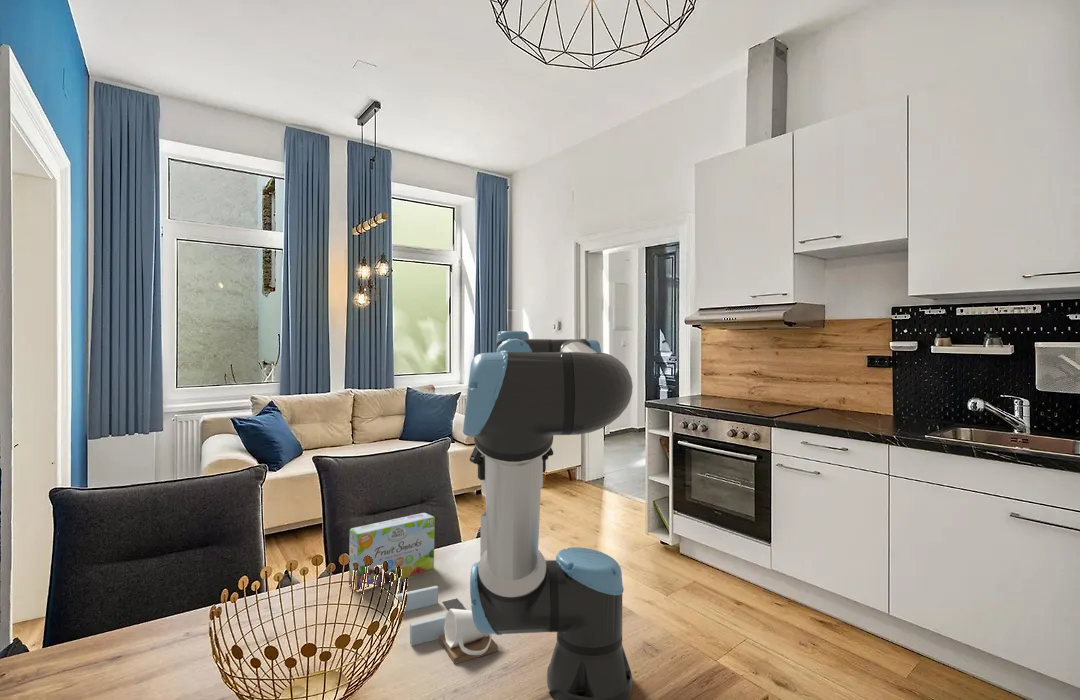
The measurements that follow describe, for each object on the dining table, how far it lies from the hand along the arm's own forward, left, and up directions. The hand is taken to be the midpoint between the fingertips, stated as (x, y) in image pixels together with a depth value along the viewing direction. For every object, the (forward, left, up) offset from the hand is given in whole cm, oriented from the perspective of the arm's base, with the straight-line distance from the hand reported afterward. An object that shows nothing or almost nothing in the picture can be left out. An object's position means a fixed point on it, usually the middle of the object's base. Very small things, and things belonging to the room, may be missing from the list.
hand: (512, 490), depth 124 cm
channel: (+2, +20, -27) cm, 33 cm away
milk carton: (+21, -5, -27) cm, 34 cm away
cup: (-12, +11, -24) cm, 29 cm away
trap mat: (+2, +12, -27) cm, 29 cm away
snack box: (+27, +21, -27) cm, 44 cm away
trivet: (-11, +15, -27) cm, 33 cm away
